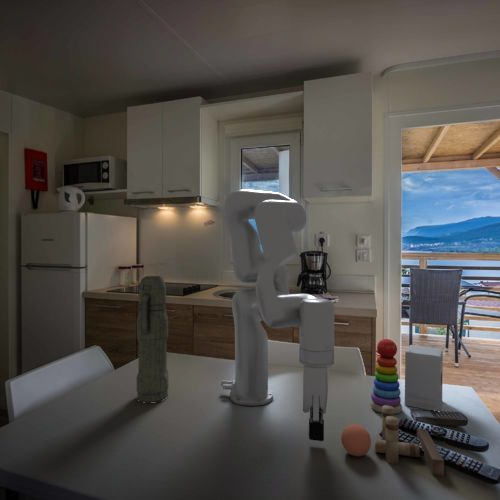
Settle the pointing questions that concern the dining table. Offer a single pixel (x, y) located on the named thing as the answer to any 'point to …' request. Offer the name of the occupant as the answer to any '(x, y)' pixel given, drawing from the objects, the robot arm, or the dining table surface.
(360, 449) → the ball
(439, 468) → the wall
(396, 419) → the pin
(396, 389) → the stacking toy
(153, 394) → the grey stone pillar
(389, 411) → the pin
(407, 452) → the pin front
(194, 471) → the dining table surface
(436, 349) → the supplement box
